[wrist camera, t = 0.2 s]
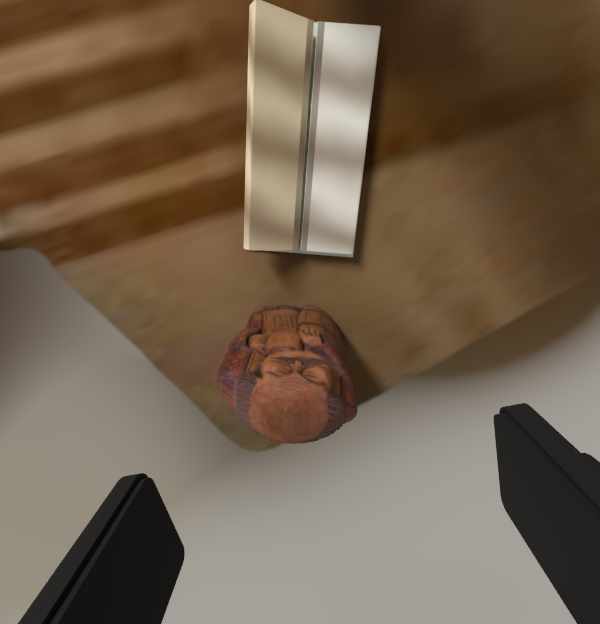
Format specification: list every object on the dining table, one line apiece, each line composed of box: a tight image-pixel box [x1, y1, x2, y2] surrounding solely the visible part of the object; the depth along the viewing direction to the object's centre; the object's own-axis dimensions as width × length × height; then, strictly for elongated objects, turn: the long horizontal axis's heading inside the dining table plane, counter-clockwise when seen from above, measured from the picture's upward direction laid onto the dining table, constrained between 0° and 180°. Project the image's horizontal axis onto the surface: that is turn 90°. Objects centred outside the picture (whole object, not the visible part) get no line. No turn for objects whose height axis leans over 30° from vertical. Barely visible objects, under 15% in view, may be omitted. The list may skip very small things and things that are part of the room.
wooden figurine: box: [217, 305, 357, 444], centre depth 32 cm, size 12×6×18 cm, turn 87°
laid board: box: [301, 21, 380, 254], centre depth 33 cm, size 20×6×1 cm, turn 176°
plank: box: [244, 0, 314, 250], centre depth 32 cm, size 20×6×1 cm
